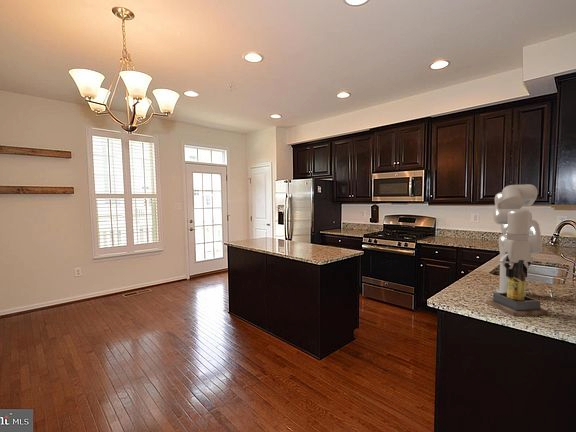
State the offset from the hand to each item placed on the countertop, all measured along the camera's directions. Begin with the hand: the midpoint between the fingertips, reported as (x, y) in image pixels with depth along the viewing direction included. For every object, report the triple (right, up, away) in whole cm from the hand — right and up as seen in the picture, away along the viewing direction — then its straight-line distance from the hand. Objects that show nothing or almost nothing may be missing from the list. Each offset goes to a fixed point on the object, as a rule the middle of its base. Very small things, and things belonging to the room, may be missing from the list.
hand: (516, 276), depth 130 cm
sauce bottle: (0, -12, +1) cm, 12 cm away
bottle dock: (0, -15, +1) cm, 15 cm away
